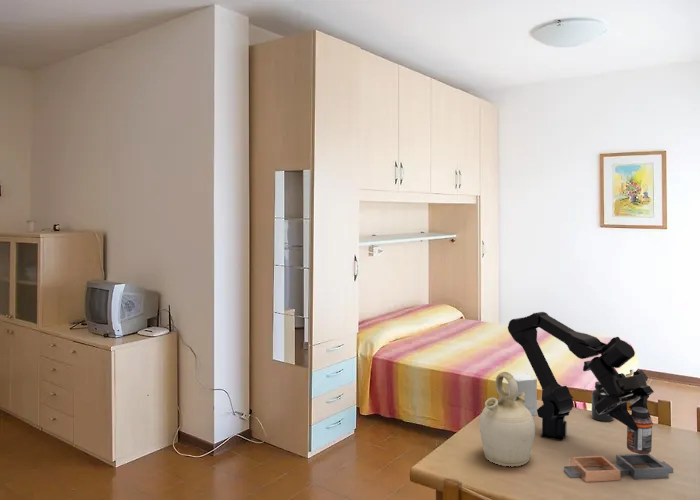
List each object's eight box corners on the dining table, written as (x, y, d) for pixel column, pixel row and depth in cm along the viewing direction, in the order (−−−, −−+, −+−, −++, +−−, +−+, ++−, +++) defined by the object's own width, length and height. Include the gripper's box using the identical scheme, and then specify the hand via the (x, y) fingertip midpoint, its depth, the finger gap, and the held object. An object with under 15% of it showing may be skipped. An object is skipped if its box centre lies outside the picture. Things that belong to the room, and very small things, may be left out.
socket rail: (574, 482, 147) (574, 473, 147) (559, 466, 156) (559, 457, 156) (679, 477, 149) (679, 467, 148) (658, 461, 158) (658, 452, 158)
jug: (492, 472, 154) (492, 382, 152) (471, 449, 169) (470, 366, 167) (545, 467, 156) (545, 378, 154) (519, 444, 171) (519, 363, 169)
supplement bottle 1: (616, 422, 186) (616, 386, 186) (593, 421, 188) (594, 386, 187) (610, 415, 193) (611, 380, 192) (589, 414, 194) (589, 379, 194)
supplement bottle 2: (622, 446, 155) (622, 405, 154) (643, 445, 156) (644, 404, 155) (634, 455, 149) (635, 413, 148) (656, 454, 150) (657, 412, 149)
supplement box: (537, 415, 194) (537, 379, 194) (517, 417, 193) (517, 381, 192) (527, 408, 202) (527, 373, 201) (507, 410, 200) (507, 374, 199)
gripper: (605, 367, 149) (643, 421, 141) (647, 356, 158) (686, 406, 150) (579, 388, 157) (614, 440, 148) (621, 376, 166) (657, 425, 157)
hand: (644, 427), depth 151 cm, fingers closed on supplement bottle 2, 6 cm apart
